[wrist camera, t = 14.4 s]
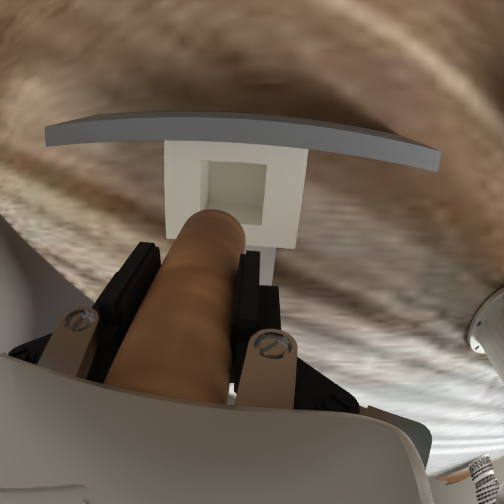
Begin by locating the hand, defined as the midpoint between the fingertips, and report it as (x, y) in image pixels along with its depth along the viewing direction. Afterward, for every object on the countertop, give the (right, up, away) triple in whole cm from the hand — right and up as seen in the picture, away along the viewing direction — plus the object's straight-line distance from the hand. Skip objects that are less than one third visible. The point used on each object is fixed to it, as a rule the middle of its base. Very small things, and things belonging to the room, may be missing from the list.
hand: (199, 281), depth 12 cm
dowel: (0, +2, +3) cm, 4 cm away
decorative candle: (+82, -72, +55) cm, 122 cm away
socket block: (+1, +8, +14) cm, 16 cm away
